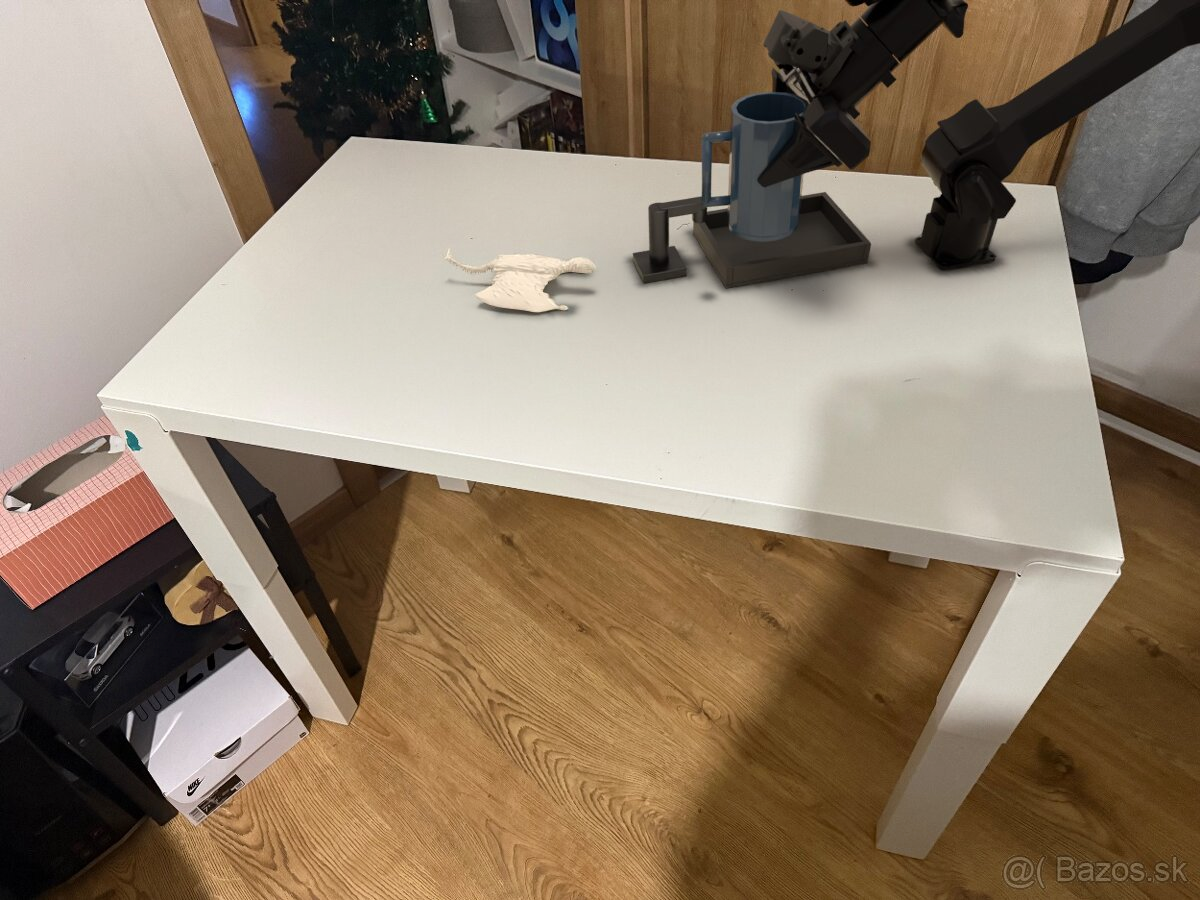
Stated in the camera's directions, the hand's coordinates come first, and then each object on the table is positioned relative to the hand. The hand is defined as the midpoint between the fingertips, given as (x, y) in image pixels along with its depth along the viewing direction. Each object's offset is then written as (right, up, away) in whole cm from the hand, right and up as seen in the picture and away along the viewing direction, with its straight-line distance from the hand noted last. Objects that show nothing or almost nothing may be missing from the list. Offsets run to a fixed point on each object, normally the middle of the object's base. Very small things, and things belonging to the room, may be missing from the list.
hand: (753, 166), depth 83 cm
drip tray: (+5, -6, +11) cm, 13 cm away
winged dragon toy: (-25, -11, +9) cm, 28 cm away
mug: (0, -5, +5) cm, 7 cm away
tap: (-7, -8, +10) cm, 15 cm away
